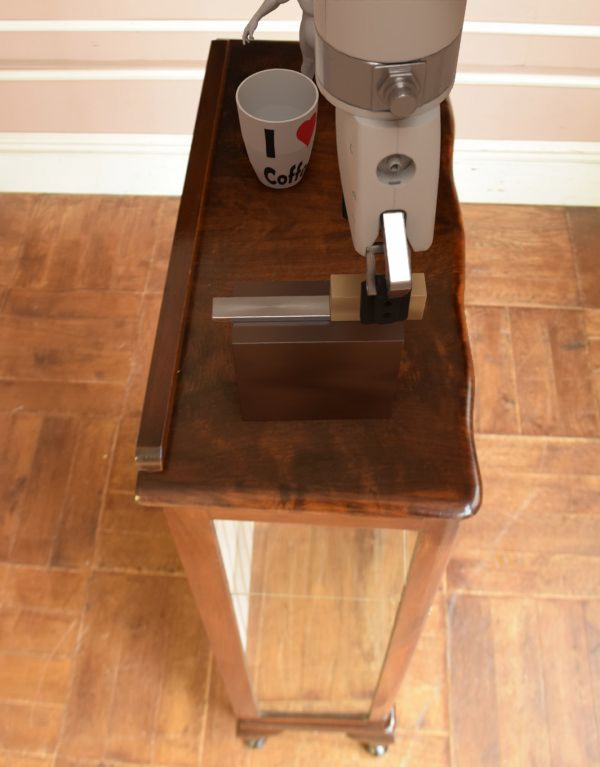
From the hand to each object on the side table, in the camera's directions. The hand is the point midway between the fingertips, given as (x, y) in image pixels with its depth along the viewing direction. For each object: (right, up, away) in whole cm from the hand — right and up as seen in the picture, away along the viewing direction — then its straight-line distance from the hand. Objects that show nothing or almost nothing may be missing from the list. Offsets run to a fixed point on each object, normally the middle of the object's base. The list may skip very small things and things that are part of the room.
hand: (372, 264), depth 55 cm
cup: (-7, +15, +30) cm, 34 cm away
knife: (-4, -3, +5) cm, 7 cm away
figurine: (-2, +23, +35) cm, 42 cm away
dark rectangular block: (-4, -9, +15) cm, 18 cm away
